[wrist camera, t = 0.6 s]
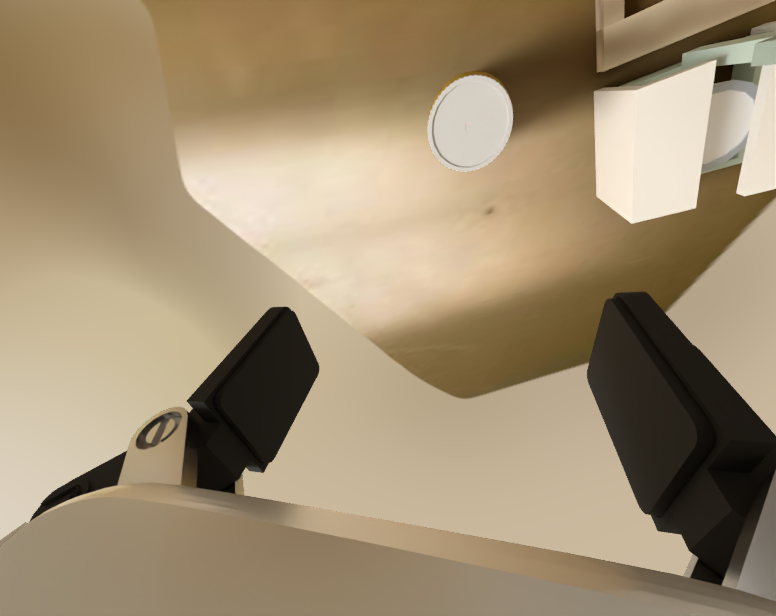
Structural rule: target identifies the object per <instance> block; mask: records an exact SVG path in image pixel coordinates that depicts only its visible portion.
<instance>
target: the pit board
mask: <svg viewBox="0 0 776 616" xmlns="http://www.w3.org/2000/svg"><path fill="white" fill-rule="evenodd" d="M773 1H775V0H663V1H662V2H660V3H657V4H655V5H653V6H651V7H649V8H647V9H644V10H642V11H640V12H638V13H636V14H634V15H631V16H629V17H627V18H625V19H624V0H595V8H596V55H597V73H598V72H604V71H606V70H609V69H611V68H614V67H616V66H618V65H621V64H623V63H626V62H628V61H631V60H633V59H635V58H638V57H640V56H643V55H645V54H647V53H650V52H652V51H655V50H657V49H660V48H662V47H664V46H667V45H669V44H672V43H674V42H676V41H679V40H681V39H684V38H686V37H689V36H691V35H693V34H696V33H698V32H701V31H703V30H705V29H708V28H710V27H713V26H715V25H718V24H720V23H722V22H725V21H727V20H730V19H732V18H734V17H737V16H739V15H742V14H744V13H747V12H749V11H751V10H754V9H756V8H759V7H761V6H763V5H766V4H768V3H771V2H773Z"/></svg>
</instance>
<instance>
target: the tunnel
mask: <svg viewBox="0 0 776 616" xmlns="http://www.w3.org/2000/svg"><path fill="white" fill-rule="evenodd" d="M770 31H772V32H774V31H776V21H773V22H769V23H765V24H762V25H760V26H757V27H755V28H752V29H751V34H750V36H751V35H755V34H760V33H765V32H770ZM716 62H717V60H710V61H706V62H703V63H701V64H698V65H695V66H693V67H690V68H688V69H685V70H682V71H680V72H677V73H674V74H672V75H669V76H667V77H664V78H661V79H659V80H656V81H654V82H651V83H648V84H646V85H643V86H626V87H606V88H601V89H598V90H596V91H594V118H595V157H596V195H597V197H598V198H599V199H601V200H602V201H603V202H604V203H606V204H607V205H608V206H609V207H611V208H612V209H613V210H615V211H616V212H617V213H618V214H620V215H621V216H622V217H624V218H625V219H626V220H627V221H629V222H630V223H631V224H632V223H636V222H641V221H645V220H649V219H653V218H657V217H661V216H665V215H669V214H674V213H678V212H682V211H686V210H690V209H694V208H696V203H697V196H698V189H699V182H700V175H701V168H702V161H703V154H704V146H705V139H706V132H707V125H708V118H709V111H710V104H711V97H712V90H713V83H714V76H715V69H716ZM773 189H776V64H773V65H763V66H762V70H761V75H760V80H759V85H758V89H757V94H756V99H755V104H754V109H753V114H752V119H751V124H750V128H749V133H748V138H747V143H746V148H745V153H744V158H743V163H742V167H741V172H740V177H739V182H738V187H737V192H736V193H737V194H740V195H743V196H748V195H752V194H756V193H760V192H764V191H768V190H773Z"/></svg>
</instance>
